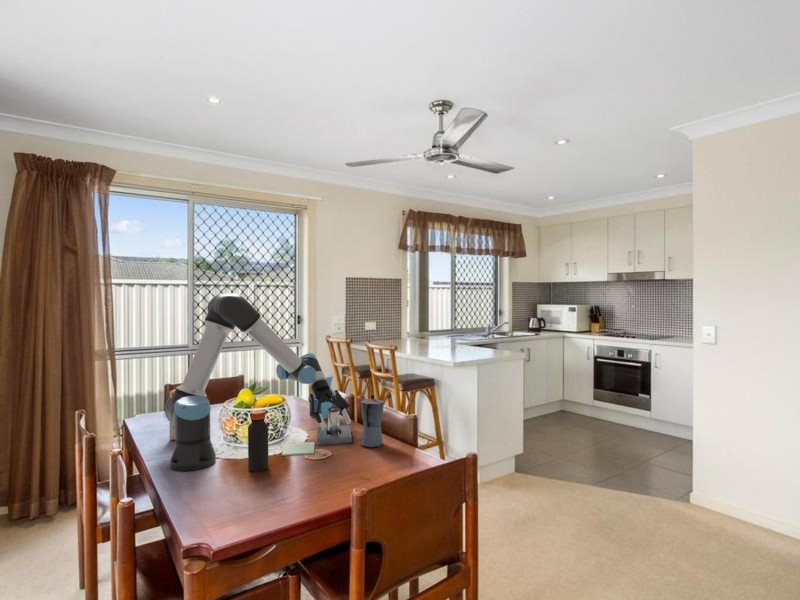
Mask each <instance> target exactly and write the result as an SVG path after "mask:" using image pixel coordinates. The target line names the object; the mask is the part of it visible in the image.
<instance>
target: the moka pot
mask: <svg viewBox="0 0 800 600" xmlns="http://www.w3.org/2000/svg"><path fill="white" fill-rule="evenodd" d="M384 404H385V402H384V401H383V400H381V399H377V398H375V394H370V398H368V399H364V400H361V401H360V407H361V416H362V421H363V424H362V425H363V427H362V432H361V439H360V445H361V446H362V447H367V448H377V447H381V446H383V443H384V442H383V434H382V426H381V425H382V420H383V412H384V406H385V405H384Z"/></svg>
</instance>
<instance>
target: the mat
mask: <svg viewBox="0 0 800 600" xmlns="http://www.w3.org/2000/svg"><path fill="white" fill-rule="evenodd" d="M315 443H316V442H315V441H312V442H311V441H310V442H309V441H308V442H292V443H284V444H283V448H282V453H281V457H282V456H284V457H285V456H299V455H301V456H302V455H314V454H315V447H316V446H315Z"/></svg>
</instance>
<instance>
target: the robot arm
mask: <svg viewBox="0 0 800 600" xmlns="http://www.w3.org/2000/svg"><path fill="white" fill-rule="evenodd" d="M206 310H207V311H206V312H207V313H206V316H205V319H204V323H205V328H204V332H203V334H202V336H201V339H200V341H199V344H198V345H197V348H196V350H195V353H194V356H193V358H192V360H191V363H190V365H189V368H188V369H187V372H186V374H185V376H184V379H183V382H182V383H181V384H180V385H177V386H176V387H175V388H174V389H175V392H174V394H173V396H172V397H170V396H169V398H168V400H167V401H166V403H165V407H164V412H165V413H164V414H165V417H166V419H167V420H168V422H169V423H170V422H171V423H172V424H173V425H174V426H175V440H174V447H173V450H172V454H171V457H170V460H169V468H170V469H171V470H172V471H177V472H191V471H197V470H202V469H205V468H207V467H210V466H212V465H214V464H215V462H216V461H217V456H216V455H217V454H216V451H215V449H214V446H213V443H212V441H211V411H212V410H211V403H210V400H209V399H208V397H207V396H208V395H207V393H206V388H207V386H208V384H209V381H210V378H211V375H212V374H213V371H214V368H215V366H216V364H217V361H218V359H219V357H220V354H221V351H222V349H223V347H224V344H225V342H226V340H227V337H228V334H230V333H231V332H233V331H234V329H235V327H236V328H237V329H238V330H240V331H241V333H247V335H249V337H251V338H252V339H253V340H254V341H255V342H256V343H257V344H258V345H259V347H261V348H262V349H263V350H264V351H265V352H266V353H267V354H269V356H270V357H272V358H273V359H274V360H275V361H276V362H277V365H276V367H275V368H276V369H275V370H276V373H275V374H276V375H277V379H279V381H280V380H281V381H282V380H283V381H284V380H292V381H295V382H297V383H300V384H302V385H303V384H304V385H309V386H310V389H311V391H312V392H313V394H314V395H313V394H312V393H310V394H309V395H308V401H309V417H310V418H314V419H315V420H316V423H317V424H319V425H320V427H321V428H322V430H323V431H324V430H325V429H326V427H327V425H326V422H325V419H323V417H322V415H321V414H319V411H320V407H321V403H324V402H330V403H332V405H334V407H339V410H341V414H342V417H343V418H344V421H345V423H346V426H350V424H351V422H352V419H351V418H350V412H349V411H348V410H349V407H350V403H349V402H348V401H347V400H345V398H344V397H343V396H342V395H341V394H340V391H338V389H335V390H333V391H332V389H331V390H330V388H329V385H328V383H327V381H326V378H325V377H326V376H325V374H324V371H323V370H322V367H321V365H320V363H319V360H318V358H317V357H316V355H315V354H314V353H312V352H306V353H305V354H302V355H301V356H298V354H297V353H296V352H295V351H294V350H293V349H292V348H291V347H290V346H289V345H288V344H287V343H286V341H283V339H282V337H280V336H279V335H278V334H277V333H276V332H275V331H274V330H273V329H272V328H271V327H270V326H269V325H268V324H267V323H266V322H265V321H264V320H263V319H262V318H261V317H262V315H261V313H259V311H257V309H256V308H255V307H254V306H253V305H252V304H251V303H250V302H249V301H248V300H247V299H246V298H245V297H244V296H242V295H239V294H237V293H219V294H217V295H216V296H213V297H212V298H211V299H210V300H209V301H208V304H207V309H206ZM314 398H316V399H317V400H318V402H317V407H316V411H315V412H314ZM331 398H332V400H331ZM312 416H314V417H312Z"/></svg>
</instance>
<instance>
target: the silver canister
mask: <svg viewBox="0 0 800 600" xmlns="http://www.w3.org/2000/svg"><path fill="white" fill-rule="evenodd" d="M340 410H341V409H339V407H337V406H332V407H330V408H328V418H327V421H328V422H327V424H328V425H327V427H328V434H340V426H341V425H340V424H341V423H340V422H341V421H340V417H341V416H340V413H341V412H340Z"/></svg>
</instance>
